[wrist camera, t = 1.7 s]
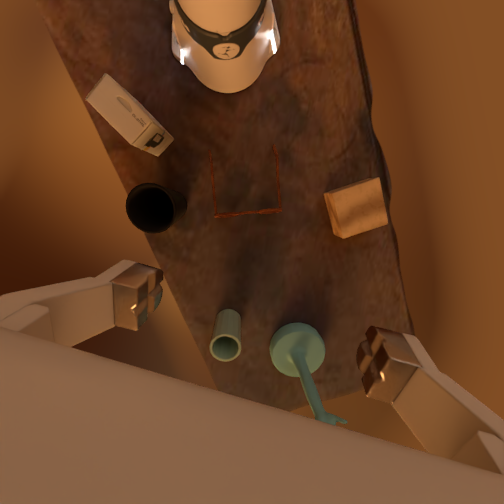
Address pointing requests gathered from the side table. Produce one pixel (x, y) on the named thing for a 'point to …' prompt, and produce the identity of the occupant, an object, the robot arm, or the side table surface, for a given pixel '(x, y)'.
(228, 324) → the tumbler
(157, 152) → the ink box
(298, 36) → the side table surface
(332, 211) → the block
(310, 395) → the mug tree
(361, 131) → the side table surface
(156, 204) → the cup
